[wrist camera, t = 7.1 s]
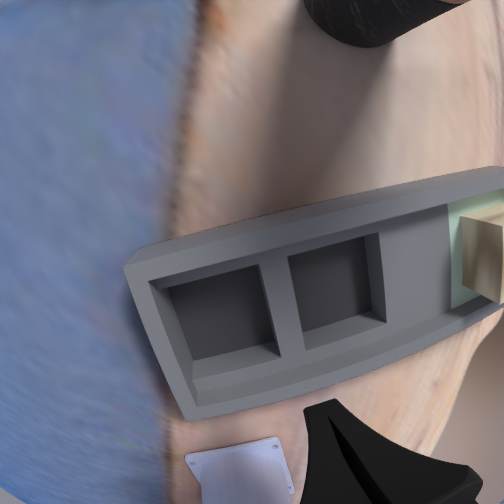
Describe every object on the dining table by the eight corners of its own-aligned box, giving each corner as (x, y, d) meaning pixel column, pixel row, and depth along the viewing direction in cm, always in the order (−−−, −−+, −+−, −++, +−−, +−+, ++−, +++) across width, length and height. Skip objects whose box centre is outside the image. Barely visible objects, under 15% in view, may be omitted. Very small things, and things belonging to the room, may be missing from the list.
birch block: (503, 265, 20) (539, 280, 16) (462, 285, 19) (499, 304, 15) (502, 202, 18) (541, 210, 14) (460, 215, 18) (502, 226, 14)
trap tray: (495, 279, 23) (526, 293, 19) (188, 384, 21) (186, 421, 17) (491, 166, 20) (526, 168, 16) (139, 248, 19) (122, 266, 15)
